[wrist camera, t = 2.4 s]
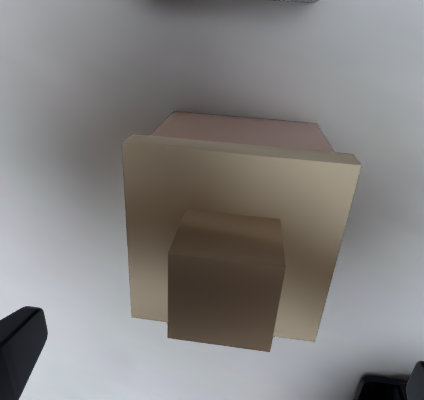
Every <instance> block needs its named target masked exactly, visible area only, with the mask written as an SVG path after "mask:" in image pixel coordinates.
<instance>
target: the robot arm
mask: <svg viewBox="0 0 424 400" xmlns="http://www.w3.org/2000/svg"><path fill="white" fill-rule="evenodd" d="M47 335H48V331H47V326H46V321H45V316H44V311H43V310H42V309H41V308H38V307H31V306H25V307H23V308H21V309H19V310H17V311H15V312H14V313H12V314H10V315H8V316H7V317H5V318H3V319H2V320H0V400H19V398H20V396H21V394H22V392H23V390H24V388H25V385H26V383H27V381H28V379H29V377H30V375H31V372H32V370H33V368H34V366H35V364H36V362H37V360H38V357H39V355H40V353H41V351H42V349H43V347H44V345H45V342H46V340H47ZM354 400H424V361H419V362H417V363H416V365H415V367H414V369H413V371H412V374H411V376H410V378H409V380H408V381H405V380H398V379H391V378H384V377H376V376H365V377H363V378H362V379H361V382H360V384H359V387H358V390H357V392H356V395H355V398H354Z"/></svg>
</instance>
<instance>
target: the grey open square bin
mask: <svg viewBox="0 0 424 400" xmlns="http://www.w3.org/2000/svg"><path fill="white" fill-rule="evenodd" d="M275 1H292V2H309V3H314V2H316V1H319V0H275Z"/></svg>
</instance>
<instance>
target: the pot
mask: <svg viewBox="0 0 424 400" xmlns="http://www.w3.org/2000/svg"><path fill="white" fill-rule="evenodd" d="M150 136H161V137H172V138H183V139H194V140H204V141H215V142H226V143H237V144H248V145H259V146H270V147H281V148H292V149H303V150H313V151H324V152H334V150H333V149H332V147H331V145H330V144H329V142H328V140H327V139H326V137H325V136H324V134H323V132H322V131H321V129H320V127H319V126H318V124H315V123H304V122H292V121H280V120H269V119H257V118H245V117H234V116H222V115H210V114H199V113H187V112H175V111H174V112H173V113H172V114H171V115H170V116H169V117H168V118H167V119H166V120H165V121H164V122H163V123H162V124H161V125H160V126H159V127H158V128H157V129H156V130H155V131H154V132H153V133H152V134H151V135H150Z"/></svg>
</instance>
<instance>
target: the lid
mask: <svg viewBox="0 0 424 400" xmlns="http://www.w3.org/2000/svg"><path fill="white" fill-rule="evenodd" d="M122 158H123V176H124V193H125V210H126V228H127V245H128V262H129V280H130V297H131V314H132V317H133V318H140V319H148V320H155V321H162V322H168V338H172V339H179V340H186V341H194V342H201V343H208V344H215V345H223V346H230V347H237V348H244V349H252V350H259V351H266V352H270V349H271V344H272V339H273V336H274V337H281V338H289V339H296V340H304V341H311V342H315V340H316V336H317V332H318V329H319V325H320V321H321V317H322V313H323V310H324V306H325V302H326V298H327V294H328V291H329V287H330V283H331V279H332V276H333V272H334V268H335V264H336V260H337V257H338V253H339V249H340V245H341V241H342V238H343V234H344V230H345V226H346V222H347V219H348V215H349V211H350V207H351V204H352V200H353V196H354V192H355V188H356V185H357V181H358V177H359V173H360V169H361V166H362V165H361V164H360V163H359V161H358V160H357V159H356V157H355V156H354V155H353V154H346V153H335V152H324V151H313V150H303V149H292V148H281V147H270V146H259V145H248V144H237V143H226V142H215V141H204V140H194V139H183V138H172V137H161V136H150V135H139V134H132V135H130V136H129V137H128V138H127V139H126V140H124V141H123V142H122Z"/></svg>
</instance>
